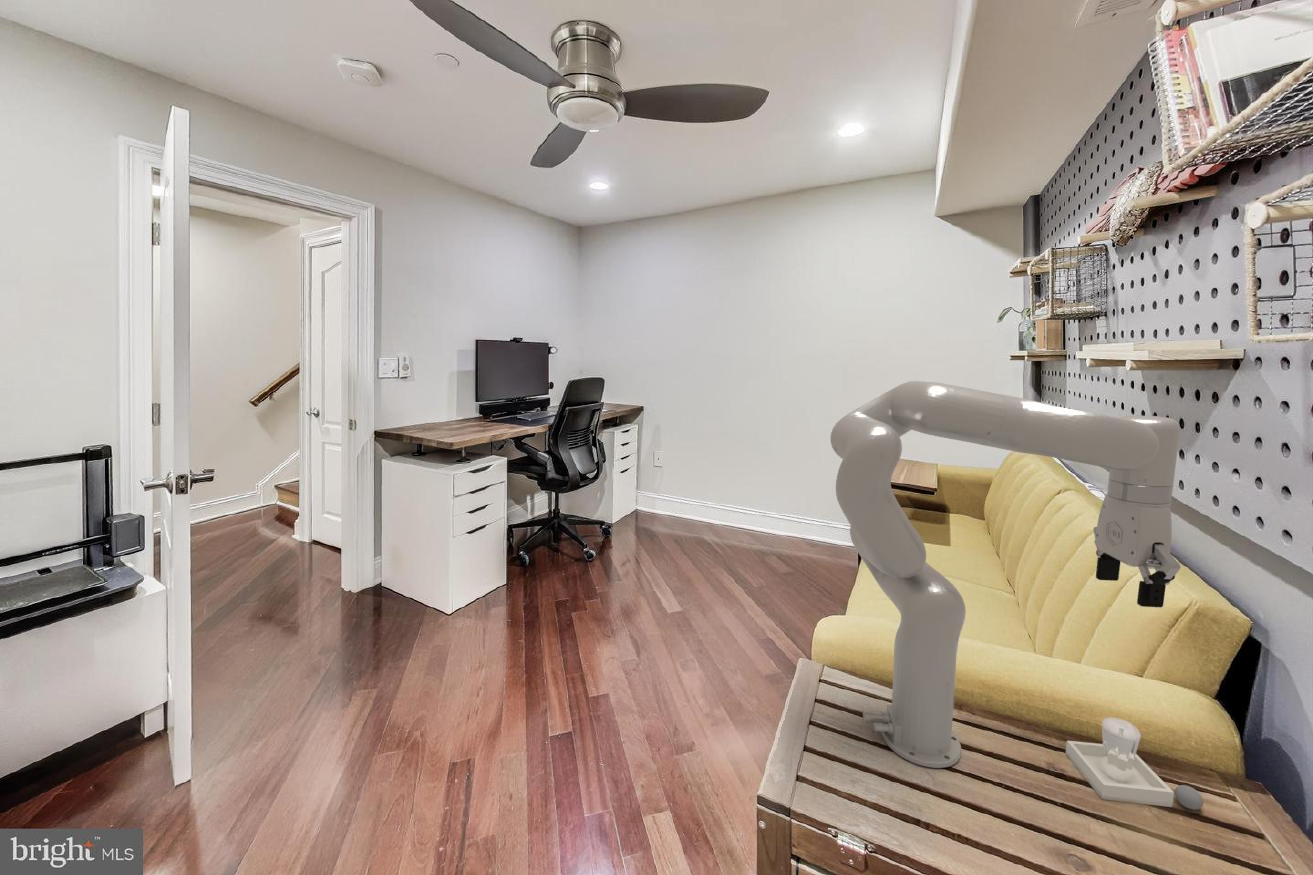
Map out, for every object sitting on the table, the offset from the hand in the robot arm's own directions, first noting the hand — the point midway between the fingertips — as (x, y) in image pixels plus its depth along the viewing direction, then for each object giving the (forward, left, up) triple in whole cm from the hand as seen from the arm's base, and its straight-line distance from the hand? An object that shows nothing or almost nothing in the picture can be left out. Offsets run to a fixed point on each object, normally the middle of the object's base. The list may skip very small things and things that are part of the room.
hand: (1127, 592), depth 84 cm
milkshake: (-4, -8, -28) cm, 29 cm away
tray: (-4, -8, -28) cm, 30 cm away
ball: (+3, -12, -28) cm, 31 cm away
